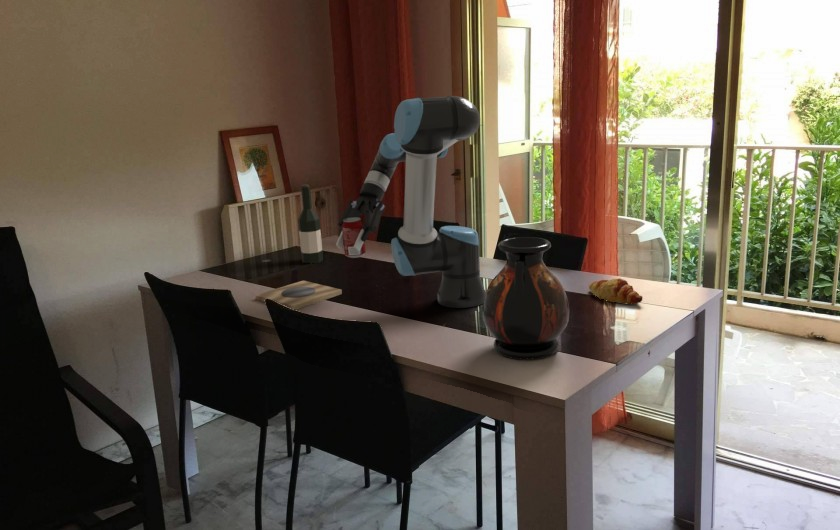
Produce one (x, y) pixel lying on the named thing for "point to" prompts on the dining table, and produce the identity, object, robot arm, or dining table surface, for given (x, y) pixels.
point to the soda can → (352, 237)
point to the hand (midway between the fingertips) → (347, 248)
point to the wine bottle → (309, 230)
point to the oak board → (300, 294)
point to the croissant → (615, 291)
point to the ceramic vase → (525, 302)
